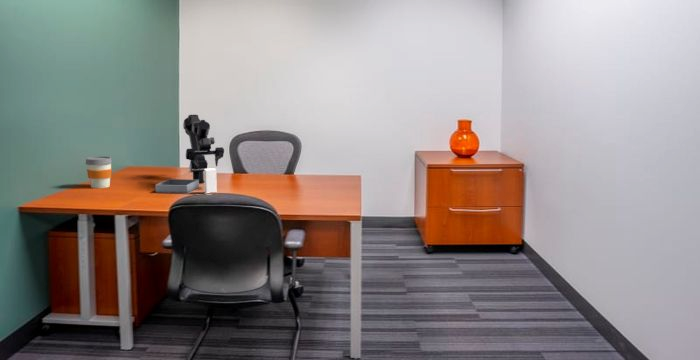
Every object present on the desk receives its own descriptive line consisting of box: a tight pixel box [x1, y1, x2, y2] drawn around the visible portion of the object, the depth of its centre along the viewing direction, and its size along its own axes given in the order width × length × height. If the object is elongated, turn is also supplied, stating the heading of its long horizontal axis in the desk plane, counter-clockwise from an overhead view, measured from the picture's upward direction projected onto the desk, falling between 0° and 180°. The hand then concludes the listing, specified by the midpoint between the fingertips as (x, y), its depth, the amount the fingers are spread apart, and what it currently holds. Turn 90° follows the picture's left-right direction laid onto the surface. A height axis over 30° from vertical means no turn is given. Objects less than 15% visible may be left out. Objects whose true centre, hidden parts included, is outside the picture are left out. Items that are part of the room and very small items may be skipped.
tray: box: [154, 178, 200, 195], centre depth 311 cm, size 18×16×4 cm
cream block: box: [203, 167, 218, 194], centre depth 303 cm, size 5×5×12 cm
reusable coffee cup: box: [85, 156, 113, 189], centre depth 317 cm, size 13×13×15 cm
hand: (207, 166), depth 307 cm, fingers open, 9 cm apart
